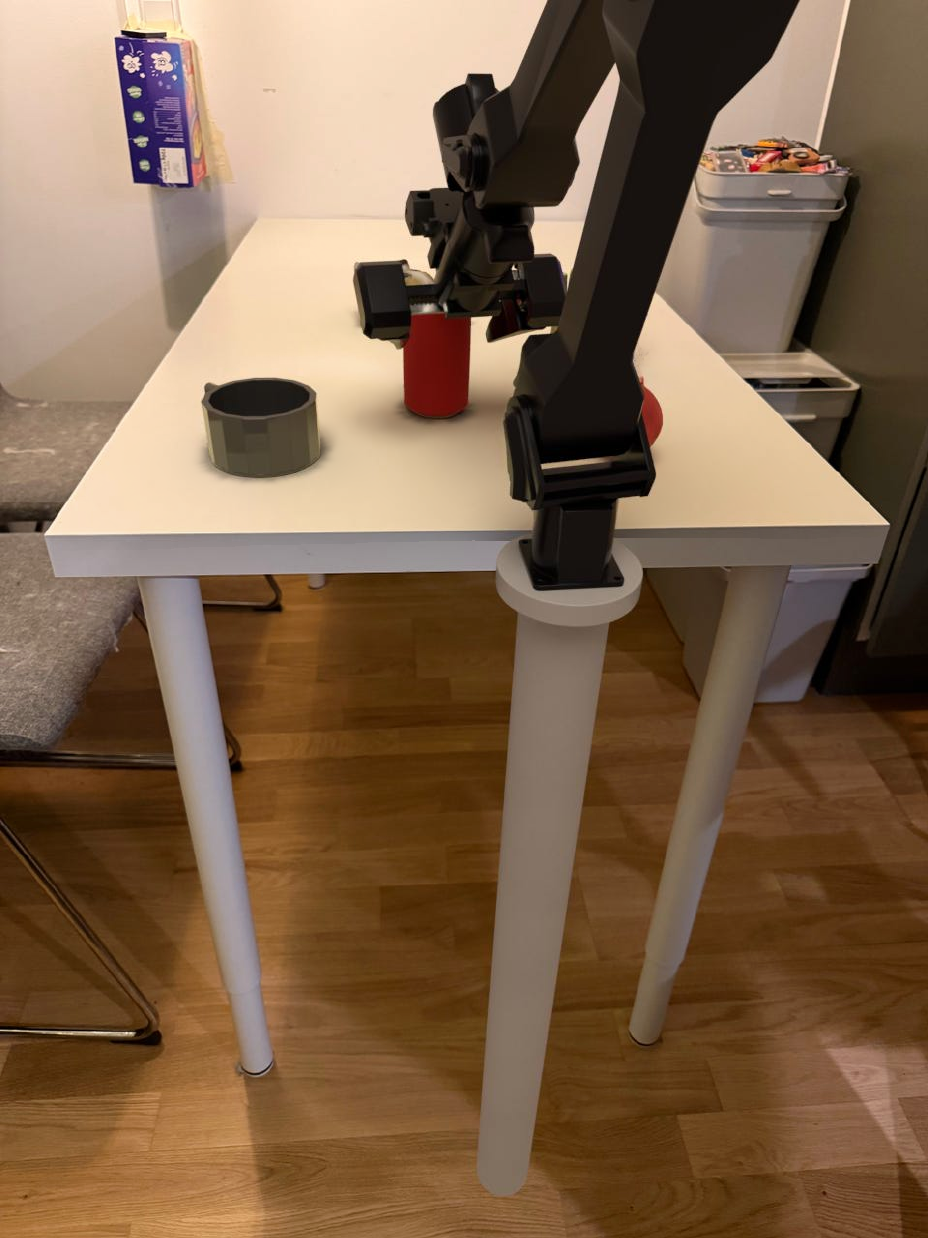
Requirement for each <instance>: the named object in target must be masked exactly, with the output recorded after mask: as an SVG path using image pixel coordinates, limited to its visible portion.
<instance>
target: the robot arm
mask: <svg viewBox="0 0 928 1238" xmlns="http://www.w3.org/2000/svg"><path fill="white" fill-rule="evenodd" d="M800 2H801V0H546V3H545V5H544V7H543V10H542V12H541V14H540V17H539V20H538V21H537V24H536V27H535V29H534V31H533V34H532V36H531V38H530V41H529V43H528V45H527V48H526V50H525V53H524V54H523V57H522V59H521V62H520V64H519V66H518V69H517V71H516V73H515V76H514V78H513V80H512V81H511V83H510V84H509V85H508V86H506V87H505V88H503V89H501V90H499V89H498V88H497V87H496V84H495V80H494V76H493V75H494V74H493V73H479V72H478V73H475V72H474V73H473V72H472V73H470V72H469V73H467V75H466V77H465V78H466V79H465V81H464V83H462V84H459V85H457V86H454V87H452V88H451V89H450V90H448V91H446V92H444V94H443V95H442V96H441V97H440V98H439V99H438V100H437V101H435V102H434V103H433V107H432V119H433V123H434V128H435V133H436V138H437V143H438V147H439V153H440V157H441V163H442V167H443V171H444V177H445V181H446V185H447V187H432V188H430V189H427V190H425V189H424V190H423V189H422V190H409V192H408V196H407V198H406V201H405V207H404V219H405V221H404V222H405V224H406V226H407V229H408V232H409V234H410V236H411V237H423V238H426V239H427V238H428V240H429V242H430V243H429V244H430V246H429V250H428V252H427V256H426V258H427V262H428V266H429V269H430V270H432V269H433V270H435V274H434V276H433V277H434V278H433V279H434V282H433V284H425V285H407V286H406V282H405V278H404V273H403V268H402V264H401V263H400V262H399V261H397V260H381V261H378V260H377V261H360V262H359V265H358V266H357V268H356V269H355V272H354V271H353V277H352V284H353V289H354V294H355V299H356V305H357V311H358V310H359V311H358V315H359V320H360V325H361V330H362V334H363V335H364V336H365V337H367V338H368V339H370V340H379V341H381V342H390V343H391V344H393V345H394V348H395V349H396V350H397V351H398V350H403V347H404V346H405V345H406V343H407V342H408V340H409V339H410V334H409V331H410V328H411V316H412V315H428V314H443V313H445V318H446V319H457V318H471V319H472V318H486V317H487V318H488V317H491V318H490V319H489V322H488V324H487V327H486V330H485V338H486V343H487V344H491V343H492V344H493V343H495V342H498V341H502V340H506V339H510V338H513V337H516V336H519V335H523V334H528V333H531V332H535V331H536V332H537V331H543V330H545V329H547V328H549V327H550V328H551V327H552V326H558V328H557V330H556V331H555V332H554V333H550V332H549V333H535V334H529V335H528V337H526V340H525V341H524V343H523V344H522V346H521V352H520V359H519V365H518V368H517V369H518V370H517V372H516V376H515V377H514V379H513V381H512V385H513V387H514V390H513V394H512V396H510V397H509V399H508V401H507V404H506V407H505V408H506V410H505V412H504V419H503V421H502V427H503V433H504V439H505V451H506V453H505V454H506V466H507V473H508V479H509V496H510V498H511V499H512V500H514V501H518V502H522V503H526V505H527V506H528V507H529V509H530V510H531V511H533V520H532V530H531V532H532V539H521V540H519V543H518V548H519V551H520V554H521V556H522V559H523V562H524V565H525V568H526V571H527V573H528V576H529V579H530V582H531V585H532V588H533V589H534V590H537V591H552V590H572V589H592V588H612V587H622V586H623V585H624V580H625V579H624V577H623V575H622V573H621V571H620V569H619V567H618V565H617V563H616V561H615V559H614V557H613V555H612V553H611V552H612V545H613V540H614V538H615V531H616V523H617V517H618V509H619V503H620V502H619V501H620V499H626V498H627V499H628V498H635V497H639V498H645V497H649V495H650V493H651V491H652V488H653V486H654V484H655V481H656V479H657V471H656V466H655V462H654V458H653V454H652V449H651V446H650V445H649V441H648V437H647V432H646V428H645V424H644V420H643V416H642V411H641V410H642V406H643V402H644V397H645V396H644V392H643V389H642V386H641V383H640V380H639V378H638V376H639V375H638V372H637V369H636V366H635V363H634V360H633V356H634V357H635V351H636V349H637V346H638V343H639V340H640V337H641V334H642V332H643V328H644V325H645V323H646V320H647V316H648V313H649V311H650V308H651V304H652V302H653V299H654V296H655V293H656V290H657V288H658V285H659V283H660V279H661V277H662V273H663V271H664V267H665V264H666V261H667V259H668V256H669V253H670V251H671V247H672V244H673V241H674V238H675V237H676V233H677V230H678V227H679V225H680V221H681V218H682V215H683V212H684V209H685V206H686V205H687V200H688V198H689V195H690V192H691V189H692V186H693V183H694V180H695V178H696V175H697V173H698V172H697V171H698V169H699V167H700V163H701V160H702V158H703V155H704V151H705V148H706V145H707V143H708V140H709V137H710V135H711V131H712V128H713V126H714V123H715V121H716V118H717V116H718V115H719V113H720V112H721V111H722V110H723V109H724V108H725V107H726V106H727V105H728V104H729V103H730V102H731V101H732V100H733V99H734V98H735V97H736V96H737V94H739V93H740V92H741V91H742V89H744V88H745V87H746V86H747V85H748V84H749V82H751V80H753V79H754V77H756V75H757V74H759V73H760V72H761V71H762V70H763V69H764V68H765V67H766V65H767V64H769V62H770V61H771V60H772V59H773V57H774V56H775V54H776V51H777V49H778V47H779V45H780V43H781V41H782V39H783V36H784V34H785V33H786V31H787V28H788V26H789V25H790V22H791V20H792V19H793V16H794V14H795V12H796V10H797V8H798V6H799V4H800ZM614 66H616V67H615V68H616V70H617V74H618V77H619V78H618V79H619V82H618V86H617V93H616V96H615V100H614V105H613V108H612V112H611V116H610V121H609V124H608V128H607V132H606V135H605V140H604V144H603V147H602V151H601V154H600V155H601V156H600V160H599V164H598V167H597V171H596V175H595V180H594V184H593V188H592V192H591V197H590V199H589V203H588V208H587V212H586V215H585V219H584V223H583V227H582V230H581V235H580V239H579V243H578V247H577V251H576V254H575V258H574V263H573V267H572V269H573V270H572V269H571V270H572V274H571V278H570V277H569V278H570V282H569V281H568V284H569V286H568V285H567V289H566V285H565V281H564V276H563V272H564V271H563V268H562V263H561V260H559V259H558V258H557V256H556V255H555V254H553V253H552V252H551V253H549V252H548V253H535V244H534V239H533V235H532V228H533V226H534V223H535V219H536V218H535V208H555V207H559V206H560V204H561V203H563V201H564V200H565V198H566V196H567V194H568V192H569V189H570V188H571V187H572V186H573V183H574V182H575V181H574V180H575V178H576V173H577V172H578V169H579V166H580V164H581V161H580V153H579V148H578V142H577V138H576V136H577V133H578V131H579V129H580V126H581V124H582V122H583V121H584V119H585V117H586V115H587V113H588V112H589V110H590V108H591V107H592V105H593V103H594V102H595V100H596V98H597V96H598V94H599V93H600V90H601V89H602V87H603V85H604V84H605V82H606V80H607V78H608V77H609V75H610V73H611V71H612V70H613V68H614ZM513 268H514V269H513ZM417 305H418V306H417ZM610 457H611V460H610V461H604V462H594V463H584V464H577V465H567V466H558V467H557V466H556V467H549V468H542V465H547V464H555V463H556V464H557V463H564V462H574V461H575V462H576V461H583V460H592V459H600V458H601V459H602V458H610Z"/></svg>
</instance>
